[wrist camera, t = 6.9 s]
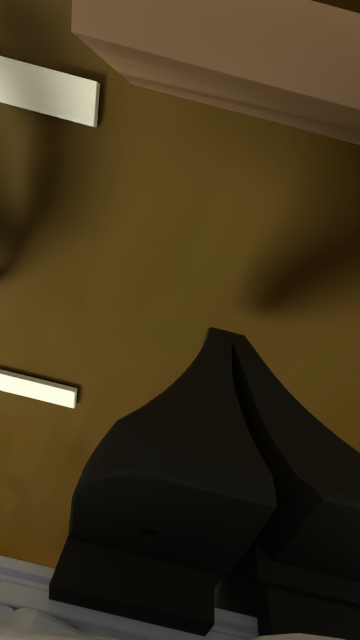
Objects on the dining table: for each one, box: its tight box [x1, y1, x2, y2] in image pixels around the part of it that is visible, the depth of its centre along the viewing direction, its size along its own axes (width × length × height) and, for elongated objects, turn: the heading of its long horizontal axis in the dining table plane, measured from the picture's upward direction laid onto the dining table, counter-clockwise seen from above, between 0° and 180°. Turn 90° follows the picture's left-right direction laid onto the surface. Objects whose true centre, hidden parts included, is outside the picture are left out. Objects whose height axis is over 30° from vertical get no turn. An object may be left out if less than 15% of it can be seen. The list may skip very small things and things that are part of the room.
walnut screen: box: [71, 0, 360, 145], centre depth 7 cm, size 1×11×4 cm, turn 77°
